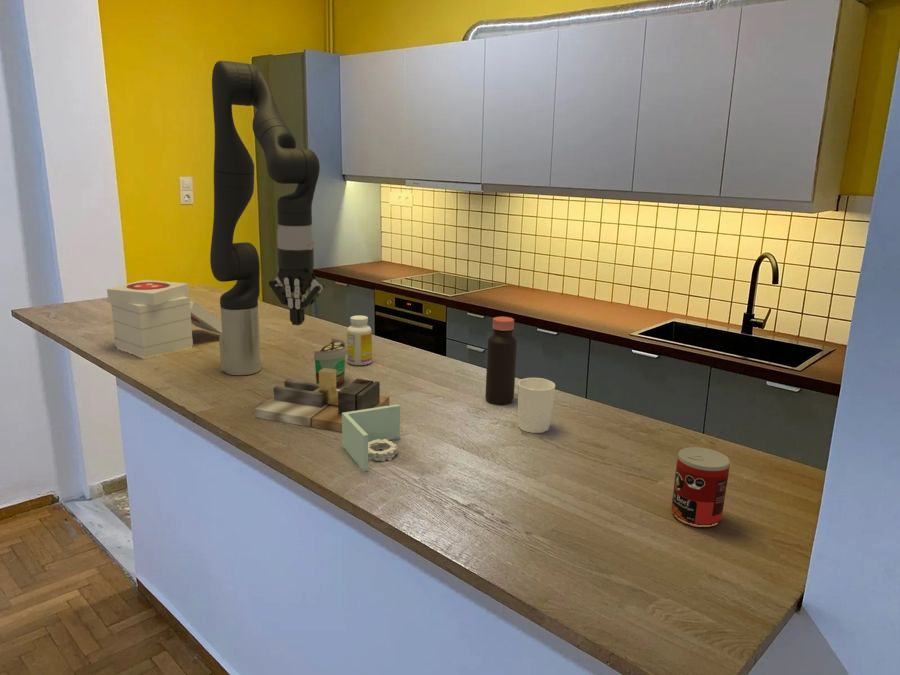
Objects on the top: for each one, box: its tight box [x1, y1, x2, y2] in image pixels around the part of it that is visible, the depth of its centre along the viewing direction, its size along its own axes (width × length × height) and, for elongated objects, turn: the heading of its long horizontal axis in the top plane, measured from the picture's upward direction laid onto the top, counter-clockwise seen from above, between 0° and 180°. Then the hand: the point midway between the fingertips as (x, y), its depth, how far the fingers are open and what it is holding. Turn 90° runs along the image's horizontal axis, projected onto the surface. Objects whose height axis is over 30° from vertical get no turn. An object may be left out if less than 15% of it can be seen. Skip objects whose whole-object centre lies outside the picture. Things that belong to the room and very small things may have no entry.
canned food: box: [670, 446, 731, 525], centre depth 113 cm, size 8×8×11 cm
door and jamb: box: [254, 378, 390, 433], centre depth 153 cm, size 24×18×7 cm
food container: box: [313, 338, 348, 389], centre depth 170 cm, size 12×6×10 cm, turn 168°
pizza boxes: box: [106, 279, 222, 357], centre depth 198 cm, size 19×30×18 cm, turn 143°
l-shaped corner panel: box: [341, 403, 401, 472], centre depth 133 cm, size 12×12×8 cm
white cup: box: [517, 377, 556, 434], centre depth 147 cm, size 8×8×10 cm
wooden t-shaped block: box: [313, 368, 339, 405], centre depth 151 cm, size 12×2×7 cm, turn 72°
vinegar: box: [484, 316, 518, 405], centre depth 161 cm, size 7×7×20 cm
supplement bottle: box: [346, 315, 373, 367], centre depth 187 cm, size 7×7×13 cm
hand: (297, 324), depth 150 cm, fingers closed
